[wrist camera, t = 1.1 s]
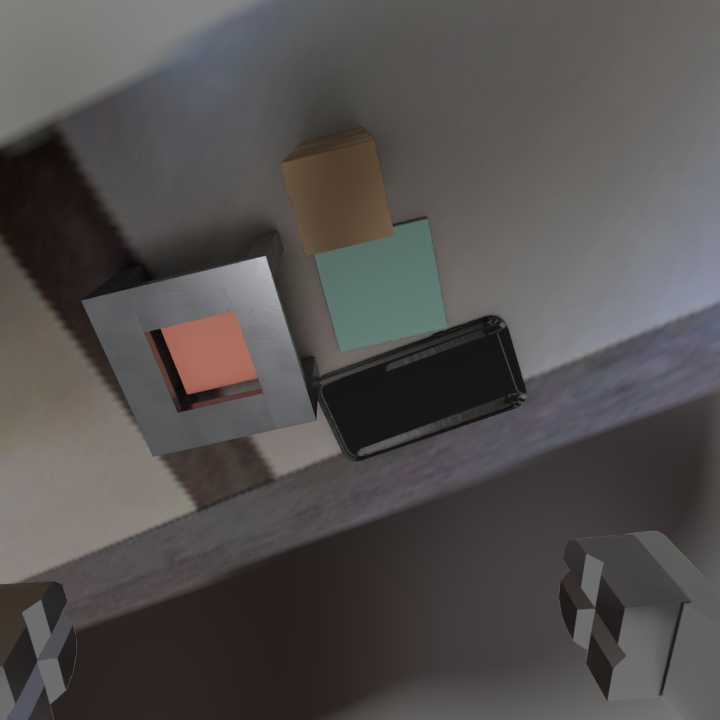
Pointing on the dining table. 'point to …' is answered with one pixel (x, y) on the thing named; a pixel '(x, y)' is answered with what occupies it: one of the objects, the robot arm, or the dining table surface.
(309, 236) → the peg
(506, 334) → the phone
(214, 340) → the salmon pink panel
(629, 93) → the dining table surface
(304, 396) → the frame
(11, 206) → the dining table surface
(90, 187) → the dining table surface
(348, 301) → the mat
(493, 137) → the dining table surface
